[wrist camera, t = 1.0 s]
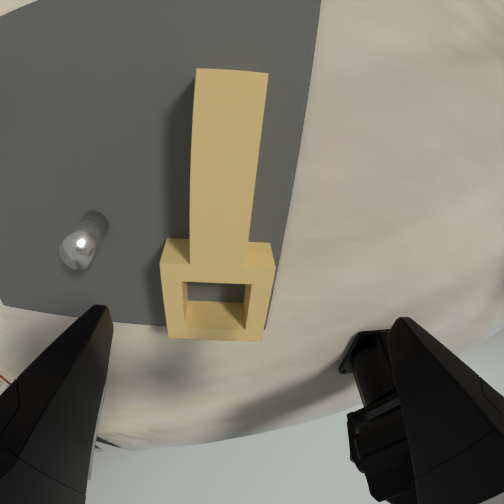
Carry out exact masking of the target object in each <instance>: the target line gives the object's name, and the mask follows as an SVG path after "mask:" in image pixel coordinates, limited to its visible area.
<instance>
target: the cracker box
mask: <svg viewBox="0 0 504 504" xmlns="http://www.w3.org/2000/svg"><path fill="white" fill-rule="evenodd" d="M9 386H10V383H9V382H7V381H6V380H5V379H3V378H2V377H1V376H0V395H1V394H2V393H3V392H4V391H5V390H6V389H7V388H8V387H9Z"/></svg>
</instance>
